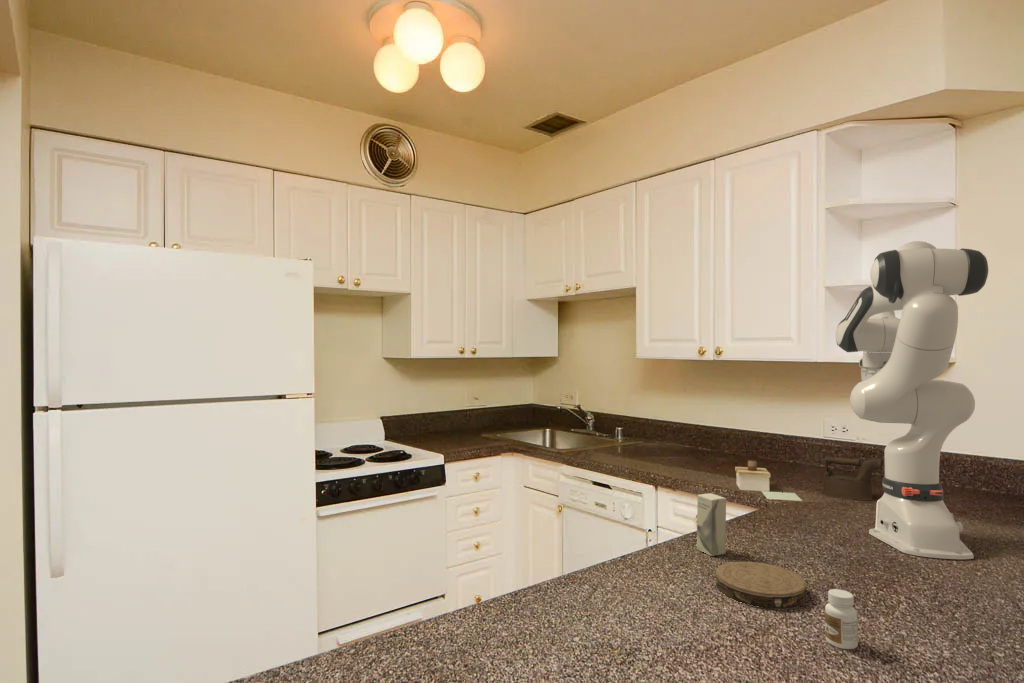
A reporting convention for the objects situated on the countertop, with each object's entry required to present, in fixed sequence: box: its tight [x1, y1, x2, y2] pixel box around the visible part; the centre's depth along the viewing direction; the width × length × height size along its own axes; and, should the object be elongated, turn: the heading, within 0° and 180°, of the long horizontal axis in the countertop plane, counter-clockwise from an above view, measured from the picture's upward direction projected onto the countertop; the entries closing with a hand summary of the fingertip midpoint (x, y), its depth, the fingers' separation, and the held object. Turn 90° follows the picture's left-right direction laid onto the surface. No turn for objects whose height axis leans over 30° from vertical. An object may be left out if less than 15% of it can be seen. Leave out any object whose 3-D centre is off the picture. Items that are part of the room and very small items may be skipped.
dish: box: [735, 471, 770, 492], centre depth 191 cm, size 9×9×5 cm
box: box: [696, 492, 727, 557], centre depth 130 cm, size 5×4×13 cm
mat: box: [761, 491, 803, 502], centre depth 179 cm, size 10×10×1 cm
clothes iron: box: [823, 455, 884, 501], centre depth 179 cm, size 8×16×13 cm, turn 51°
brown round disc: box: [715, 561, 807, 610], centre depth 109 cm, size 16×16×3 cm
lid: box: [734, 459, 771, 478], centre depth 191 cm, size 10×10×4 cm
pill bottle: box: [824, 588, 859, 650], centre depth 89 cm, size 4×4×8 cm
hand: (880, 407), depth 172 cm, fingers open, 8 cm apart
